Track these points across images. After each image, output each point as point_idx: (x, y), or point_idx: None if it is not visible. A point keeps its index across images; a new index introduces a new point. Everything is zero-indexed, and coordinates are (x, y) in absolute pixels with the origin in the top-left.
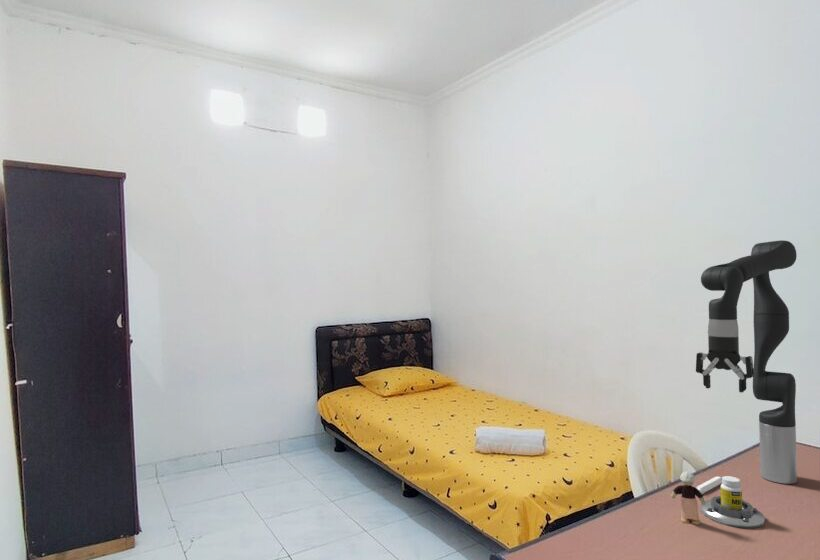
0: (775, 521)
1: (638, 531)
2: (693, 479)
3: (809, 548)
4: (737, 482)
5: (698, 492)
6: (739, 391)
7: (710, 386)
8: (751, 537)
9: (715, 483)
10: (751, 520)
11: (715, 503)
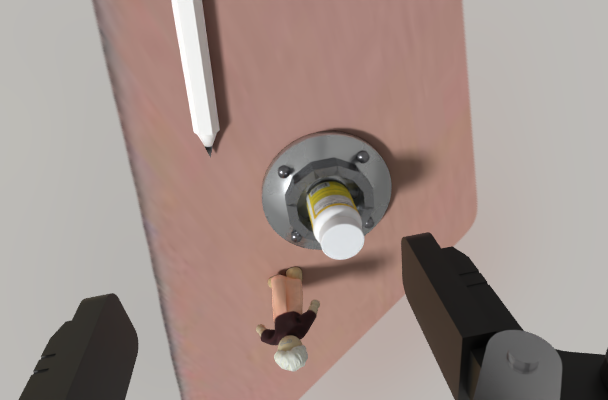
0: (401, 141)
1: (253, 367)
2: (307, 357)
3: (471, 208)
4: (361, 246)
5: (310, 326)
6: (409, 295)
7: (108, 295)
8: (387, 249)
9: (203, 38)
10: (374, 208)
11: (307, 236)
